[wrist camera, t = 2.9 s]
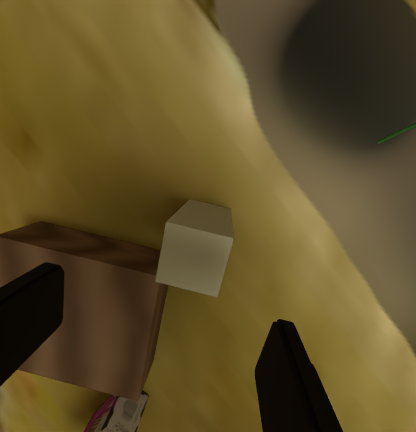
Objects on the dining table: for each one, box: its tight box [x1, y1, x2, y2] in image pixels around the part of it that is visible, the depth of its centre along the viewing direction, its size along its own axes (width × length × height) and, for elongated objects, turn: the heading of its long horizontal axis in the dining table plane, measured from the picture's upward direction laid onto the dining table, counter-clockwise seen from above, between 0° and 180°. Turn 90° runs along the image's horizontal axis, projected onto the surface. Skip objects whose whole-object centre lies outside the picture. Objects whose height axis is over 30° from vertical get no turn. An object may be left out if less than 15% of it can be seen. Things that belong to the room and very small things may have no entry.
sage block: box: [155, 199, 234, 297], centre depth 20 cm, size 5×5×10 cm
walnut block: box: [0, 222, 168, 401], centre depth 26 cm, size 18×18×6 cm
